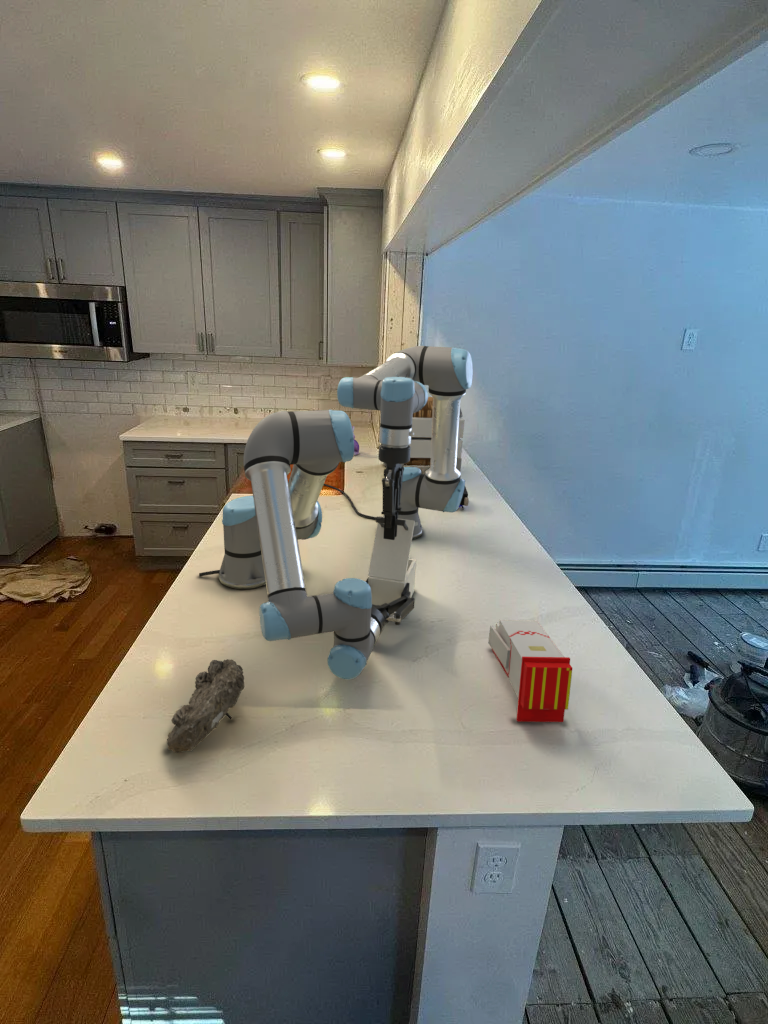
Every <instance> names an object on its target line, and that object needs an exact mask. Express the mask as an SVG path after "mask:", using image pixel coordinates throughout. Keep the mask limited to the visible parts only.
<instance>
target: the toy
mask: <svg viewBox="0 0 768 1024" xmlns="http://www.w3.org/2000/svg"><path fill="white" fill-rule="evenodd" d="M488 646H490V648H491V651H492V653H493V655H494V656H495V658H496V660H497V661H498V663H499V665H500V666H501V668H502V670H503V672H504V673H505V676H506V678H508V681H509V683H510V685H511V687H512V689H513V692H514V694H515V695H516V697H517V708H516V709H517V710H516V722H519V723H520V722H521V723H522V722H523V723H525V722H526V723H564V720H565V712H566V710H569V704H570V703H569V702H570V695H571V685H572V677H573V667H572V665H571V658H570V657H568V656H567V657H566V656H564V654H563V653H562V652H561V650H560V649H559V648H558V646H557V645H556V644H555V642H554V641H553V640H552V638H551V637H550V636H549V634H548V633H547V631H546V630H545V629H544V626H543V625H541V624H540V622H539V620H536V619H535V620H531V619H528V620H527V619H499V620H498V622H495V626H494V625H490V627H489V635H488Z"/></svg>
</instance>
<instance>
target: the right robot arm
mask: <svg viewBox="0 0 768 1024" xmlns="http://www.w3.org/2000/svg"><path fill="white" fill-rule="evenodd" d="M473 368H474V367H473V360H472V355H471V353H470V352H469V350H467V349H465V348H459V347H455V346H454V347H452V346H451V347H450V346H428V345H415V346H411V347H406V348H403V349H401V350H398V351H396V352H394V353H392V354H391V355H389V356H388V357H387V358H386V360H385V362H383V363H382V364H380V365H378V366H377V367H375V368H373V369H372V370H370V371H368V372H366V373H364V374H363V375H361V376H359V377H353V376H350V377H349V376H346V377H345V376H344V377H342V378H341V379H340V380H339V382H338V385H337V391H336V396H337V397H336V398H337V401H338V403H339V405H340V406H341V407H344V408H351V409H359V410H368V411H369V410H370V411H378V412H379V411H380V415H379V417H380V419H379V435H378V436H379V437H378V443H379V446H378V460H379V462H381V463H386V464H387V466H385V468H384V469H383V477H382V479H381V485H382V511H381V512H380V514H381V515H382V517H385V518H384V539H389V540H394V539H395V537H396V536H397V525H396V519H405V520H413V521H415V525H414V530H413V536H412V540H415V539H418V538H420V537H421V536H422V535H423V525H422V524H421V518H420V515H419V509H424V510H431V511H435V512H436V511H437V512H442V513H445V512H446V513H456V512H457V511H458V509H459V508H460V507H459V505H460V502H461V499H462V496H463V492H464V487H466V480H465V479H464V478H461V474H460V472H459V471H458V470H457V469H456V462H457V447H458V431H459V415H460V408H461V399H462V398H464V396H465V395H466V394H467V390H469V389H470V388H471V387H472V385H473V377H474V375H473V373H474V370H473ZM426 386H428V389H427V387H426ZM429 395H430V397H433V411H432V436H431V461H430V466H429V468H428V469H426V470H425V473H422V470H421V468H419V467H417V466H404V467H401V466H402V464H405V463H408V462H409V461H410V452H411V447H410V446H409V444H411V436H414V433H413V432H411V430H412V418H413V413H415V412H418V411H420V410H421V409H422V408H423V407H424V406H425V405H426V403H427V400H428V397H429ZM323 487H327V488H329V489H333V490H335V491H338V492H339V493H341V494H342V495H344V496H345V497H346V499H347V500H348V503H350V505H351V507H352V509H353V510H354V512H355V514H357V515H358V516H360V517H362V518H365V519H366V518H367V519H371V520H376V517H377V516H373V515H367V514H363V513H361V512H359V511H358V509H357V507H356V505H355V504H354V503H353V501H352V499H351V498H350V496H349V495H348V494H347V493H346V492H345V491H343V490H342V489H340V488H337V487H335V486H333V485H330V484H328V483H327V484H326V483H324V485H323Z"/></svg>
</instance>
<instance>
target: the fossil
mask: <svg viewBox="0 0 768 1024" xmlns="http://www.w3.org/2000/svg"><path fill="white" fill-rule="evenodd" d="M243 670H244V669H243V667H242V665H240V664H237V662H236V661H235V660H234V659H232V658H231V659H227V658H226V659H224V660H223V661H222V660H217V659H212V660H211V661H210V663H209V665H208V666H207V671H201V672H199V673H198V674H197V675H196V676H195V680H194V684H195V685H194V687H195V689H194V690H193V693H192V694H191V697H190V698H189V700H188V704H184V705H182V706H181V707H180V709H177V710H176V711H175V713H174V715H173V716H172V718H171V723H172V724H173V727H172V730H171V731H170V732H168V734H167V738H166V741H167V742H166V745H167V749H168V750H169V751H173V752H174V753H176V754H178V753H182V752H188V751H189V752H192V751H193V750H195V748H196V747H197V746H199V744H200V743H201V742H203V741H204V740H205V739H206V738H207V737H208V736H209V735H210V734H211V733H212V732H214V730H215V729H217V727H218V726H219V724H220V722H221V721H222V720H223V719H224V718H225V716H226V717H227V719H229V720H233V717H232V715H230V714H229V710H230V709H231V708H234V706H235V704H236V703H237V702H238V699H239V697H240V695H241V693H242V691H243V690H245V689H244V688H245V675H244V671H243Z"/></svg>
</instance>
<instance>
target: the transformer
mask: <svg viewBox="0 0 768 1024" xmlns="http://www.w3.org/2000/svg"><path fill="white" fill-rule="evenodd" d="M432 411H433V397H432V396H428V400H427V403H426V405H425V406H424V407H423V408H422V409H421V410H420V411H418V412H415V413H413V418H412V430H411V432H413V433H414V436H411V444H409V446H410V447H411V452H410V461H409V462H408V463H405V464H402V466H401V467H405V466H406V467H417V466H418V467H430V461H431V436H432ZM464 429H465V419H464V418H463V411H462V408H461V407H460V415H459V431H458V447H457V462H456V469H457V470H458V471H459V472H460V475H461V472H462V461H463V460H462V453H463V442H464V441H463V440H462V439H463V438H464V431H465V430H464ZM382 463H383V466H384V467H386V466H387V464H386V463H384V462H382Z"/></svg>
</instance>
